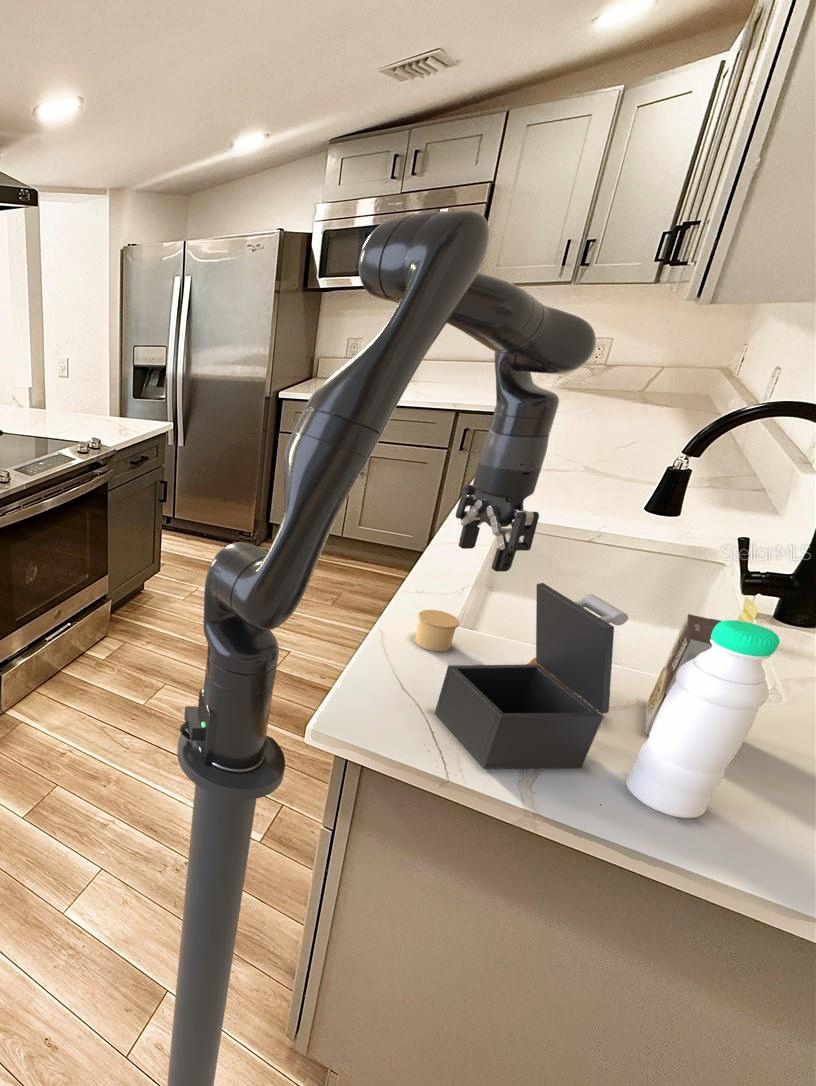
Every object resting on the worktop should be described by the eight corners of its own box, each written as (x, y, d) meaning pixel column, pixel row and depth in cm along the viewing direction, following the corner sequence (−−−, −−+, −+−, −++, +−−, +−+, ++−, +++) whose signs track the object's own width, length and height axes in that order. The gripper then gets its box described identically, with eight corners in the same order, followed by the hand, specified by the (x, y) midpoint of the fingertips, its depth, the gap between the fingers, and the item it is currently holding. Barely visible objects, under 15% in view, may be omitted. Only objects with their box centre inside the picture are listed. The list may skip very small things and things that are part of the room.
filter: (424, 653, 108) (431, 627, 105) (405, 634, 113) (412, 610, 111) (459, 652, 107) (467, 626, 105) (439, 634, 113) (446, 609, 110)
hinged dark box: (483, 768, 83) (501, 717, 79) (434, 713, 93) (448, 665, 90) (581, 768, 82) (604, 716, 78) (520, 712, 92) (537, 664, 89)
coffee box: (709, 755, 83) (762, 656, 76) (643, 734, 87) (689, 638, 80) (706, 721, 89) (756, 626, 82) (644, 703, 93) (687, 611, 86)
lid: (607, 628, 73) (653, 617, 72) (536, 584, 84) (576, 574, 83) (601, 714, 78) (645, 705, 77) (535, 662, 89) (573, 653, 88)
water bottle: (700, 795, 77) (793, 624, 67) (705, 831, 72) (806, 653, 62) (623, 769, 81) (700, 606, 71) (624, 801, 77) (705, 631, 66)
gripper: (455, 449, 98) (433, 541, 105) (516, 476, 85) (486, 579, 92) (505, 447, 98) (479, 540, 104) (573, 474, 85) (538, 578, 91)
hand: (482, 558), depth 98 cm, fingers open, 8 cm apart
